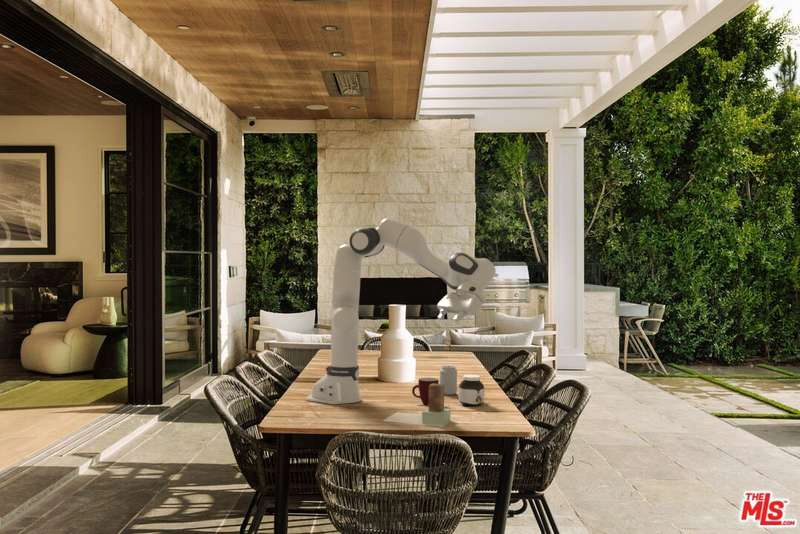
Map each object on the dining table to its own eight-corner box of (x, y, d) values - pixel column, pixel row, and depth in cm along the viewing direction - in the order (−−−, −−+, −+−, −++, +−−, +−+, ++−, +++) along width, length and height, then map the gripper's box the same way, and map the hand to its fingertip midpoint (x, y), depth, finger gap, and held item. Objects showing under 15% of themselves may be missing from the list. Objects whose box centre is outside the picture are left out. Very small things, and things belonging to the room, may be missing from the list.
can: (455, 396, 292) (456, 368, 292) (438, 395, 294) (438, 367, 293) (457, 393, 299) (458, 365, 299) (440, 392, 301) (441, 364, 301)
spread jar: (464, 407, 269) (465, 378, 269) (451, 402, 280) (451, 373, 279) (491, 405, 274) (491, 376, 274) (477, 400, 284) (477, 372, 284)
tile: (382, 423, 240) (382, 420, 240) (396, 414, 254) (396, 412, 254) (442, 429, 233) (442, 426, 233) (453, 420, 247) (453, 417, 247)
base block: (422, 423, 238) (422, 411, 237) (428, 418, 245) (428, 407, 245) (444, 425, 235) (444, 413, 235) (450, 420, 242) (450, 409, 242)
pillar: (428, 411, 239) (428, 385, 239) (432, 408, 243) (432, 383, 243) (440, 412, 237) (440, 386, 237) (444, 409, 241) (444, 384, 241)
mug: (412, 406, 271) (412, 380, 271) (412, 401, 279) (412, 377, 279) (438, 406, 271) (439, 381, 271) (437, 402, 279) (438, 377, 279)
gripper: (446, 287, 269) (425, 312, 264) (480, 289, 253) (459, 316, 247) (454, 298, 272) (434, 323, 267) (489, 300, 255) (469, 328, 250)
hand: (447, 320), depth 257 cm, fingers open, 8 cm apart
